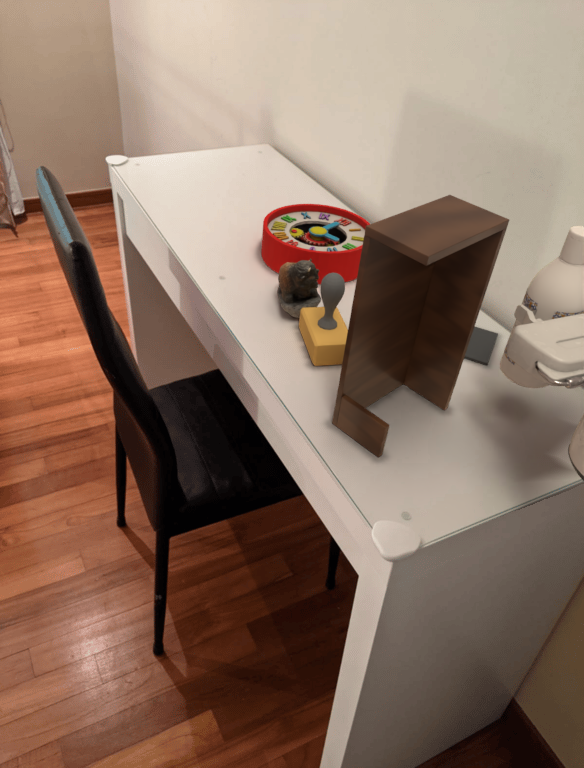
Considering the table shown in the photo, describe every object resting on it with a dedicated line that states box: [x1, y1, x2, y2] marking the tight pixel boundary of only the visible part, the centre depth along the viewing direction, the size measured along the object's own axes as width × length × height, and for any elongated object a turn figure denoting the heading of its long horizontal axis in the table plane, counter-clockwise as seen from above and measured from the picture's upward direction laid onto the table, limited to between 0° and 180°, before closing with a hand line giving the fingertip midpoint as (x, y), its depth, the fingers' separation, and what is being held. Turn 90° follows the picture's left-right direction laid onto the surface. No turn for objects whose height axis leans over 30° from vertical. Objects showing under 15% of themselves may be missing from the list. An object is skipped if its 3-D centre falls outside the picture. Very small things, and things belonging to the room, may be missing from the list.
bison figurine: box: [277, 259, 322, 318], centre depth 96 cm, size 12×7×10 cm, turn 8°
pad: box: [464, 325, 499, 366], centre depth 95 cm, size 9×9×1 cm
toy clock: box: [260, 203, 371, 285], centre depth 110 cm, size 20×6×20 cm
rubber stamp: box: [298, 273, 348, 367], centre depth 87 cm, size 10×6×12 cm, turn 12°
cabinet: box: [331, 194, 510, 458], centre depth 71 cm, size 8×15×27 cm, turn 134°
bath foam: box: [499, 225, 584, 389], centre depth 74 cm, size 7×7×20 cm
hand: (547, 304), depth 74 cm, fingers closed on bath foam, 7 cm apart
